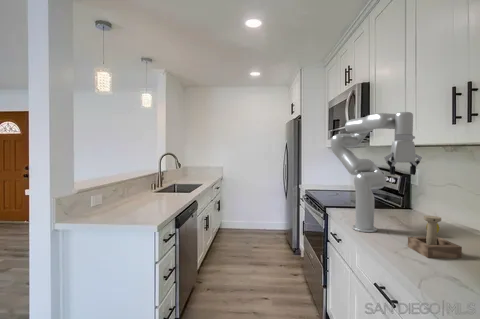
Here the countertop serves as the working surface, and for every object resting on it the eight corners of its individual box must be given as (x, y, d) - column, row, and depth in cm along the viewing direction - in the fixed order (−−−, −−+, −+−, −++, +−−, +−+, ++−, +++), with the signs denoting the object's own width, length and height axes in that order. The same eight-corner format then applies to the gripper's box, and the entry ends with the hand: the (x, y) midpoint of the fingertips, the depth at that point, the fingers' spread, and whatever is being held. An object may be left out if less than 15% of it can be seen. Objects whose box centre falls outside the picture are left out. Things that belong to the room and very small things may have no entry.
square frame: (407, 246, 135) (407, 236, 135) (438, 246, 136) (438, 236, 135) (427, 257, 121) (428, 247, 121) (461, 257, 122) (461, 246, 121)
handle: (421, 248, 133) (422, 215, 132) (437, 250, 131) (438, 216, 130) (424, 252, 128) (425, 217, 127) (441, 253, 126) (443, 218, 125)
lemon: (436, 237, 149) (436, 221, 149) (424, 235, 153) (424, 219, 153) (440, 235, 152) (441, 220, 152) (428, 233, 157) (429, 218, 156)
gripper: (416, 138, 144) (415, 174, 145) (381, 138, 144) (380, 174, 145) (426, 138, 137) (425, 175, 138) (389, 138, 137) (388, 175, 137)
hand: (402, 174), depth 141 cm, fingers open, 9 cm apart
